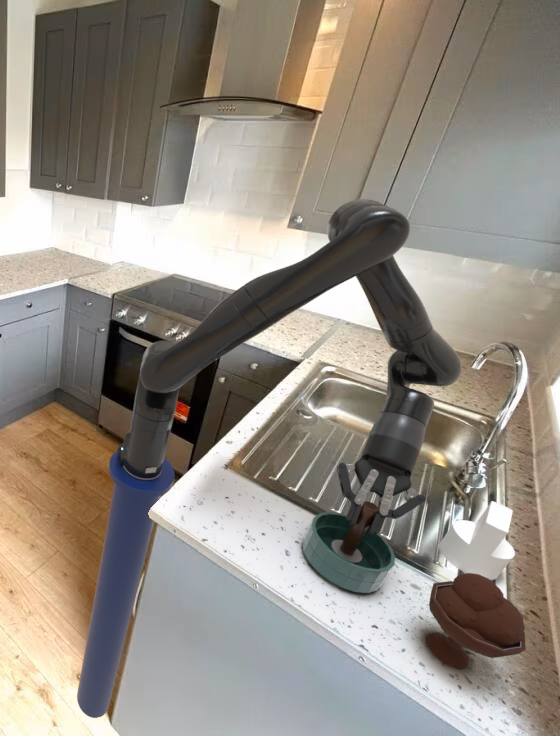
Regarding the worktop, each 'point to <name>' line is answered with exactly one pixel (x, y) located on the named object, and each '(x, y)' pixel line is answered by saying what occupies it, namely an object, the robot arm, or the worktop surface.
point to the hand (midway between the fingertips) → (361, 529)
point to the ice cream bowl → (473, 621)
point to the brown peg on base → (355, 535)
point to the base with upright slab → (480, 543)
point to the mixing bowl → (339, 570)
